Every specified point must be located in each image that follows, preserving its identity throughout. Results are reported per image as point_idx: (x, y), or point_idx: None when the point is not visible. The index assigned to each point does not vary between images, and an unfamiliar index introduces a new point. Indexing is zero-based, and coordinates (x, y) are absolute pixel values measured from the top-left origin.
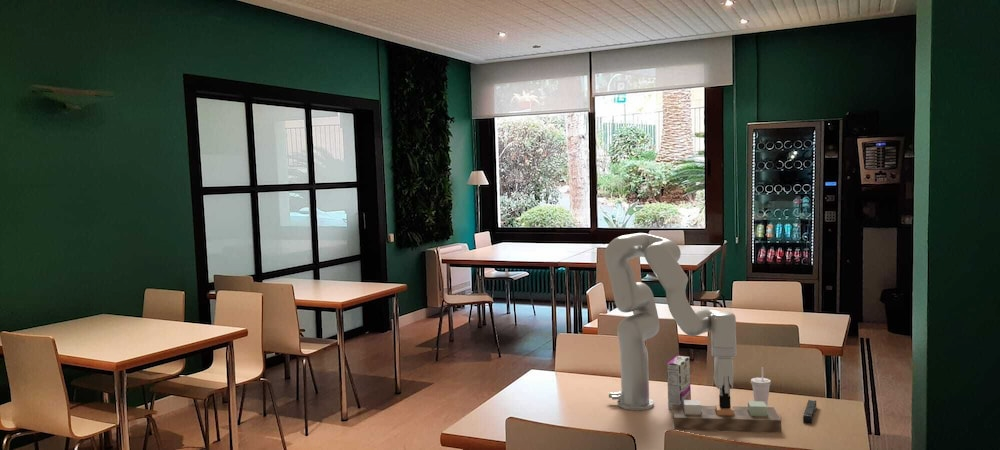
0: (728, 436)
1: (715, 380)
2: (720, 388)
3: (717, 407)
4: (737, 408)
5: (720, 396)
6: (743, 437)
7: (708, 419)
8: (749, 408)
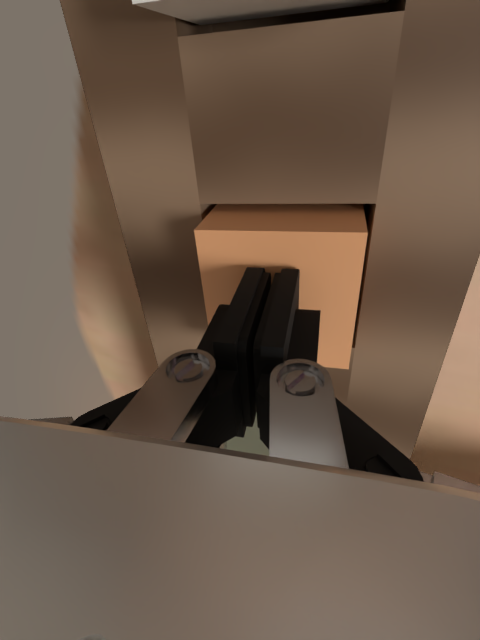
0: (96, 231)
1: (48, 583)
2: (269, 438)
3: (268, 241)
4: (380, 383)
5: (217, 344)
6: (111, 302)
7: (95, 112)
8: (262, 445)
